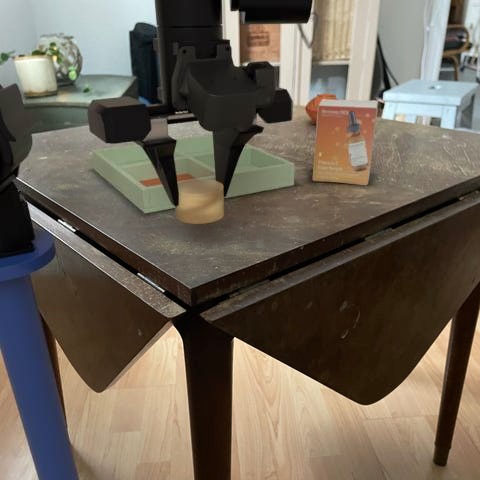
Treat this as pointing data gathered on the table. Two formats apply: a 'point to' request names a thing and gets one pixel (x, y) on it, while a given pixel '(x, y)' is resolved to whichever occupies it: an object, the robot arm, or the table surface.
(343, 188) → the table surface
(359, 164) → the small box
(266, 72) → the robot arm
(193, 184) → the cylinder
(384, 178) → the table surface
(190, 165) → the grid
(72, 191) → the table surface
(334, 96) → the pot
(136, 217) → the table surface
